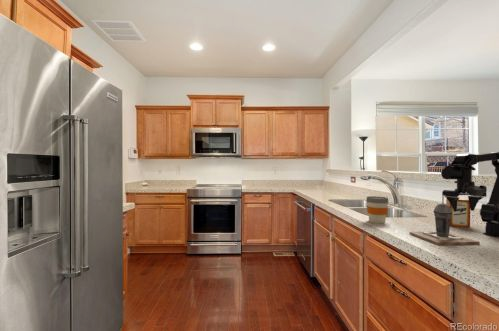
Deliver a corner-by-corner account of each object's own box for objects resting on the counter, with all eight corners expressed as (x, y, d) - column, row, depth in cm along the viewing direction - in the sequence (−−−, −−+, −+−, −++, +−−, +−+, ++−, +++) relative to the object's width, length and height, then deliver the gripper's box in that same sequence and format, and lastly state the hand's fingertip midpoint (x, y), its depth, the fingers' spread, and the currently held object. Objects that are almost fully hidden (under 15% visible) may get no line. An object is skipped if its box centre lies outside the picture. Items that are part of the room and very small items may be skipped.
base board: (445, 233, 134) (445, 229, 134) (479, 244, 116) (479, 239, 116) (409, 234, 132) (409, 230, 132) (438, 245, 114) (438, 240, 114)
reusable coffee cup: (368, 223, 156) (368, 198, 156) (364, 218, 168) (364, 195, 168) (391, 224, 153) (391, 199, 153) (385, 219, 165) (385, 196, 165)
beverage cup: (433, 236, 123) (433, 194, 123) (433, 233, 129) (434, 193, 129) (452, 239, 119) (452, 196, 119) (452, 235, 124) (452, 194, 124)
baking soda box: (465, 225, 153) (465, 198, 152) (470, 227, 147) (470, 199, 146) (446, 223, 156) (446, 197, 156) (449, 226, 150) (450, 198, 150)
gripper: (461, 180, 119) (460, 214, 119) (498, 180, 120) (497, 213, 121) (441, 178, 130) (441, 209, 130) (475, 179, 132) (475, 209, 132)
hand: (463, 210), depth 128 cm, fingers open, 9 cm apart
